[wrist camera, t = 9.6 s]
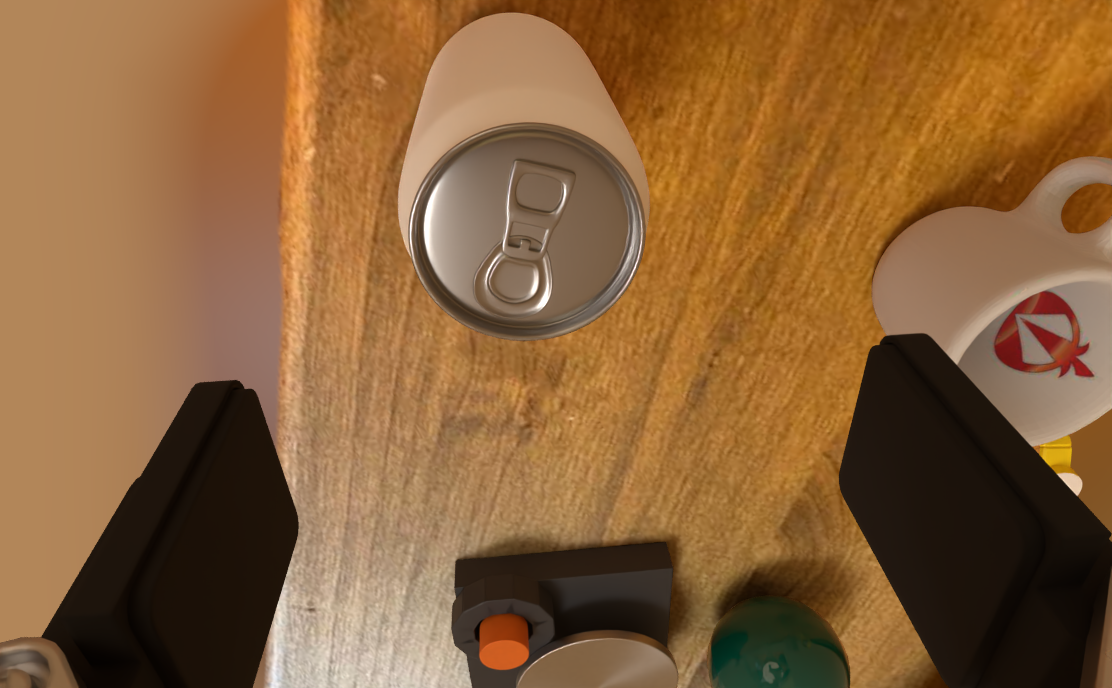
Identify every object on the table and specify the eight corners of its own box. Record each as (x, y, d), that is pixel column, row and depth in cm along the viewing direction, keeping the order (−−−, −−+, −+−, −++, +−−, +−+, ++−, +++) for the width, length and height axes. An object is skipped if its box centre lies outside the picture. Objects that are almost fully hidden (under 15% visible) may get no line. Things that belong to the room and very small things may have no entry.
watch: (975, 362, 36) (1053, 441, 31) (1027, 362, 36) (1113, 441, 31) (933, 453, 39) (998, 538, 34) (981, 452, 39) (1052, 537, 34)
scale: (472, 682, 47) (471, 735, 44) (449, 551, 40) (446, 605, 37) (657, 664, 48) (668, 716, 45) (666, 532, 41) (680, 583, 38)
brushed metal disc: (521, 730, 44) (521, 739, 44) (510, 637, 39) (510, 647, 39) (672, 715, 45) (674, 724, 44) (680, 621, 40) (683, 631, 39)
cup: (969, 86, 28) (1120, 154, 21) (1112, 161, 30) (1289, 244, 24) (812, 310, 33) (893, 421, 27) (944, 359, 35) (1049, 473, 29)
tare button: (482, 643, 40) (481, 672, 38) (477, 613, 38) (477, 643, 37) (528, 638, 40) (530, 667, 39) (526, 609, 39) (527, 638, 37)
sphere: (845, 590, 45) (907, 715, 38) (761, 659, 48) (804, 785, 42) (749, 550, 42) (798, 678, 36) (667, 627, 46) (697, 756, 39)
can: (412, 165, 28) (372, 331, 18) (442, -13, 25) (412, 68, 15) (572, 201, 29) (616, 374, 19) (620, 36, 26) (704, 142, 16)
